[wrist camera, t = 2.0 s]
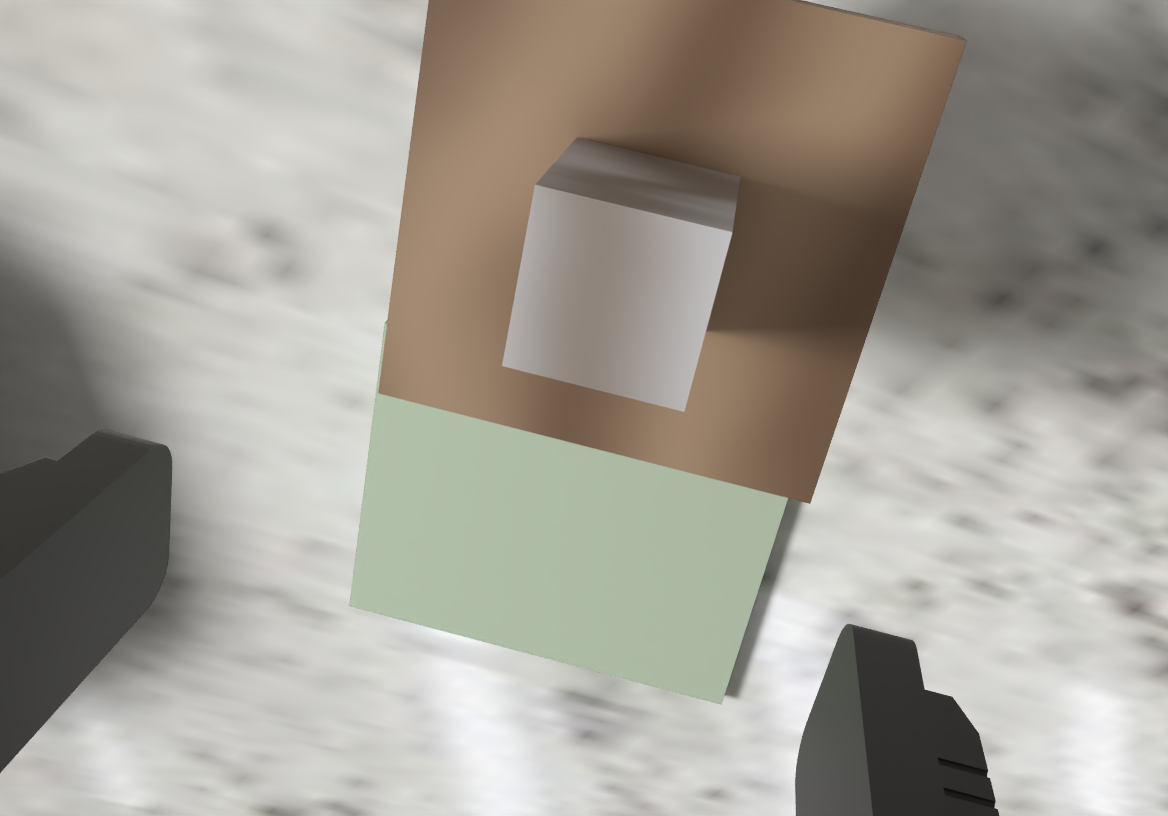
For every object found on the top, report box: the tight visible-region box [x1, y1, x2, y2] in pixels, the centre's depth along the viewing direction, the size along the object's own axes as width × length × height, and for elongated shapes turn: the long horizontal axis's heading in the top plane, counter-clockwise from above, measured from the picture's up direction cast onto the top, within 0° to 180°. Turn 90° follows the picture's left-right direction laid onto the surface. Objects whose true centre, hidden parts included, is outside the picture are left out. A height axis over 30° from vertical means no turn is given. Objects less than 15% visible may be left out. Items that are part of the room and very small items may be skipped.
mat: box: [349, 320, 788, 704], centre depth 43 cm, size 16×13×1 cm
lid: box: [378, 0, 966, 504], centre depth 25 cm, size 12×12×6 cm
